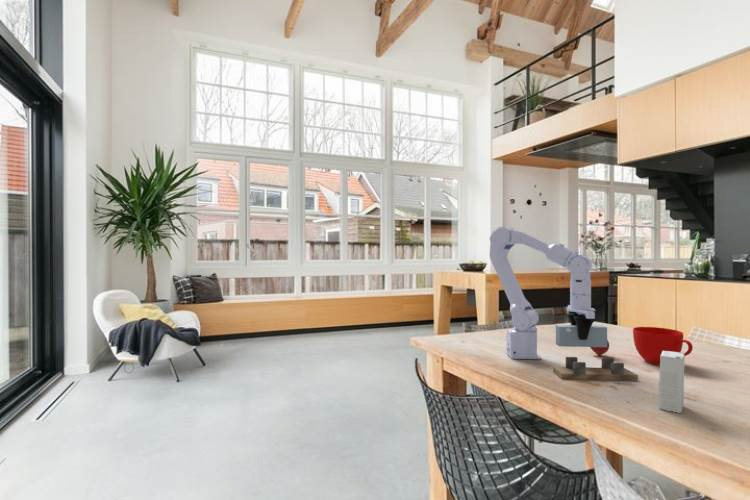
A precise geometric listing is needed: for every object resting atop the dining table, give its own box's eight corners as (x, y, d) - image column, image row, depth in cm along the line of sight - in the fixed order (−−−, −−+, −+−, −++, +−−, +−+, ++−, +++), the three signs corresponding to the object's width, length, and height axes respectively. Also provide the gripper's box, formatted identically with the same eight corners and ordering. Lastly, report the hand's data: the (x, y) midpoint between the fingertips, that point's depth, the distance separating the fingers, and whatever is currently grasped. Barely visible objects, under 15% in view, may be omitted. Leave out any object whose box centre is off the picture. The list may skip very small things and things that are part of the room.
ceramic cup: (674, 374, 114) (674, 339, 114) (623, 358, 130) (623, 327, 130) (708, 370, 117) (708, 336, 117) (654, 355, 133) (654, 325, 133)
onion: (604, 353, 136) (604, 330, 136) (612, 358, 131) (612, 333, 131) (586, 353, 137) (586, 329, 137) (594, 357, 131) (594, 333, 131)
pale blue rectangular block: (560, 347, 121) (560, 327, 121) (555, 344, 125) (555, 324, 125) (608, 347, 120) (608, 328, 120) (602, 344, 124) (602, 325, 124)
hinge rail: (561, 378, 109) (561, 362, 109) (553, 371, 116) (552, 356, 116) (637, 380, 108) (637, 364, 108) (625, 373, 114) (624, 357, 114)
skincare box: (660, 401, 93) (660, 349, 93) (685, 406, 90) (684, 352, 90) (658, 409, 88) (657, 354, 88) (683, 414, 86) (683, 358, 86)
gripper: (605, 297, 115) (605, 344, 115) (583, 291, 130) (583, 333, 130) (580, 296, 116) (580, 343, 116) (561, 291, 130) (561, 333, 130)
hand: (580, 338), depth 123 cm, fingers closed on pale blue rectangular block, 3 cm apart
